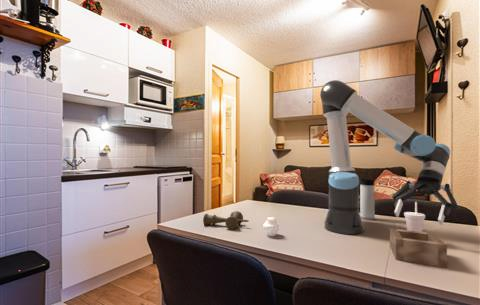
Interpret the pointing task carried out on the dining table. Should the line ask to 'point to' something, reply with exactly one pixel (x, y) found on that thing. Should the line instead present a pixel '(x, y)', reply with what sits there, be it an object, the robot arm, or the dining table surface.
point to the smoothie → (414, 220)
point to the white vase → (271, 226)
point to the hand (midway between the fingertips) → (416, 218)
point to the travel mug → (367, 199)
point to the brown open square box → (418, 247)
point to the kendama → (225, 220)
